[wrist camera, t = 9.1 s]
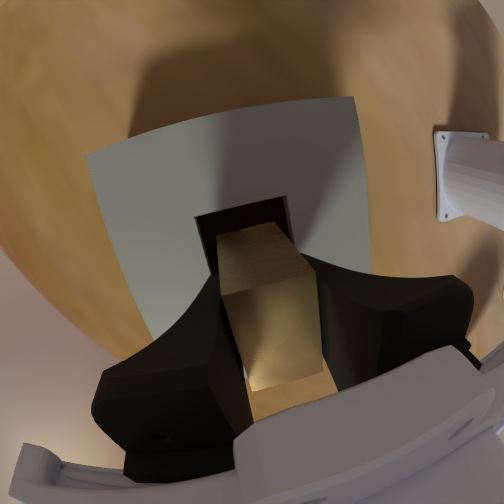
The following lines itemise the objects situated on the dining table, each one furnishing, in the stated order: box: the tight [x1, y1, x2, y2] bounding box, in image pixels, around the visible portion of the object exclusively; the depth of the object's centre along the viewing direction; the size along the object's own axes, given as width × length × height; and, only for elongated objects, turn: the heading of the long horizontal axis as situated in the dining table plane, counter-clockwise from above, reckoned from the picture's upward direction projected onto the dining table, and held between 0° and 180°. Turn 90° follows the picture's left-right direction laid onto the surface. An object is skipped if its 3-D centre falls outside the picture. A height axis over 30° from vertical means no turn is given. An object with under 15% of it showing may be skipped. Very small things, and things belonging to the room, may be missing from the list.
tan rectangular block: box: [216, 221, 323, 391], centre depth 10 cm, size 2×4×5 cm, turn 12°
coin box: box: [86, 96, 371, 379], centre depth 15 cm, size 12×14×6 cm
